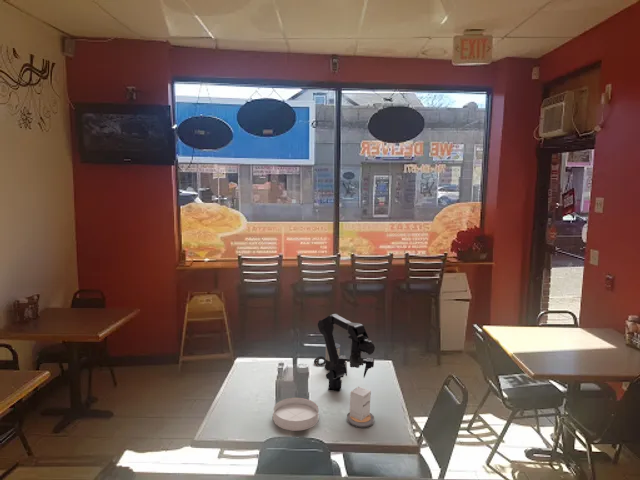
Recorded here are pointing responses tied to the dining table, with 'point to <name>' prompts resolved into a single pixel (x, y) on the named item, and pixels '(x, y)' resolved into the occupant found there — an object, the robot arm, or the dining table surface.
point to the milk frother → (327, 358)
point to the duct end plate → (361, 424)
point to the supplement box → (360, 403)
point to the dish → (295, 414)
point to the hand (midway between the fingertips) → (355, 376)
